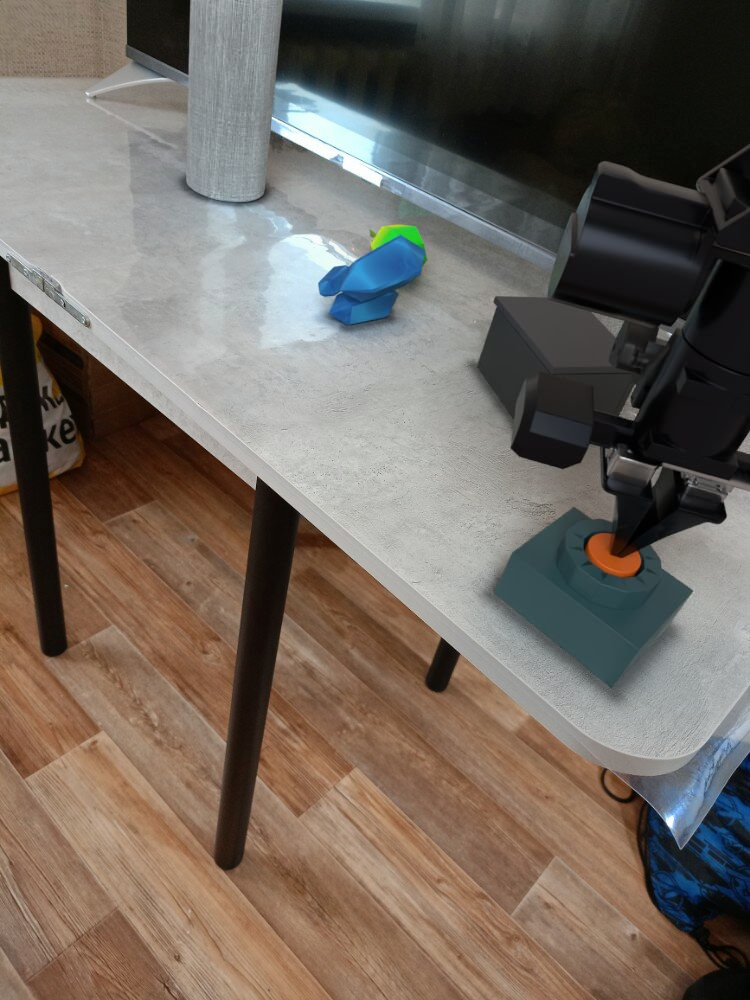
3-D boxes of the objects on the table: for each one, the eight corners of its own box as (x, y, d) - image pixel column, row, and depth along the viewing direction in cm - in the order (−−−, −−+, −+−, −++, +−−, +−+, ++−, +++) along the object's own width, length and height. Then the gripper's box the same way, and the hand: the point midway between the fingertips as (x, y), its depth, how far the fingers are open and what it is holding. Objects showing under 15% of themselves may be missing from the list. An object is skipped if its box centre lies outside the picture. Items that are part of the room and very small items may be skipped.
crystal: (302, 247, 73) (396, 207, 78) (307, 321, 79) (393, 279, 84) (350, 283, 69) (445, 238, 74) (351, 357, 76) (438, 311, 81)
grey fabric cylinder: (279, 192, 100) (306, -56, 82) (232, 210, 93) (250, -58, 75) (219, 166, 102) (232, -80, 84) (169, 182, 95) (171, -83, 77)
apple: (429, 226, 81) (377, 191, 86) (387, 268, 81) (338, 231, 86) (446, 266, 87) (398, 232, 92) (408, 305, 88) (361, 269, 92)
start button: (639, 574, 51) (650, 556, 50) (613, 598, 49) (625, 580, 48) (595, 542, 53) (605, 525, 52) (568, 565, 50) (578, 547, 49)
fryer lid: (492, 302, 72) (495, 295, 72) (575, 304, 76) (578, 297, 75) (551, 374, 64) (553, 367, 64) (640, 373, 67) (644, 366, 67)
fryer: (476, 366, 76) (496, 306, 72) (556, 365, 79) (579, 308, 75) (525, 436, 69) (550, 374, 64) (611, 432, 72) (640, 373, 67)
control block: (666, 628, 54) (706, 572, 50) (611, 688, 49) (651, 631, 45) (554, 545, 58) (583, 488, 54) (493, 593, 53) (520, 533, 49)
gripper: (866, 326, 45) (735, 513, 55) (564, 243, 46) (490, 443, 56) (931, 430, 37) (762, 627, 47) (560, 326, 37) (473, 543, 48)
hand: (615, 552), depth 50 cm, fingers closed, pressing on start button
